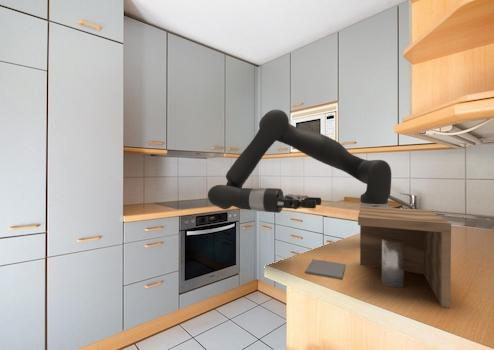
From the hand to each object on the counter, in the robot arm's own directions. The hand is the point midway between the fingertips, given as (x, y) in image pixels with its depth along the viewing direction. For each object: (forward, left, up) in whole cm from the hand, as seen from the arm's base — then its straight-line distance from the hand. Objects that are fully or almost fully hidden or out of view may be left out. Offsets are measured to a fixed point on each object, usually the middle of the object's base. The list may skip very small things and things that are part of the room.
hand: (318, 202), depth 74 cm
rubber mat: (-2, +2, -20) cm, 20 cm away
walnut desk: (-2, +20, -20) cm, 28 cm away
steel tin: (0, +19, -20) cm, 27 cm away
